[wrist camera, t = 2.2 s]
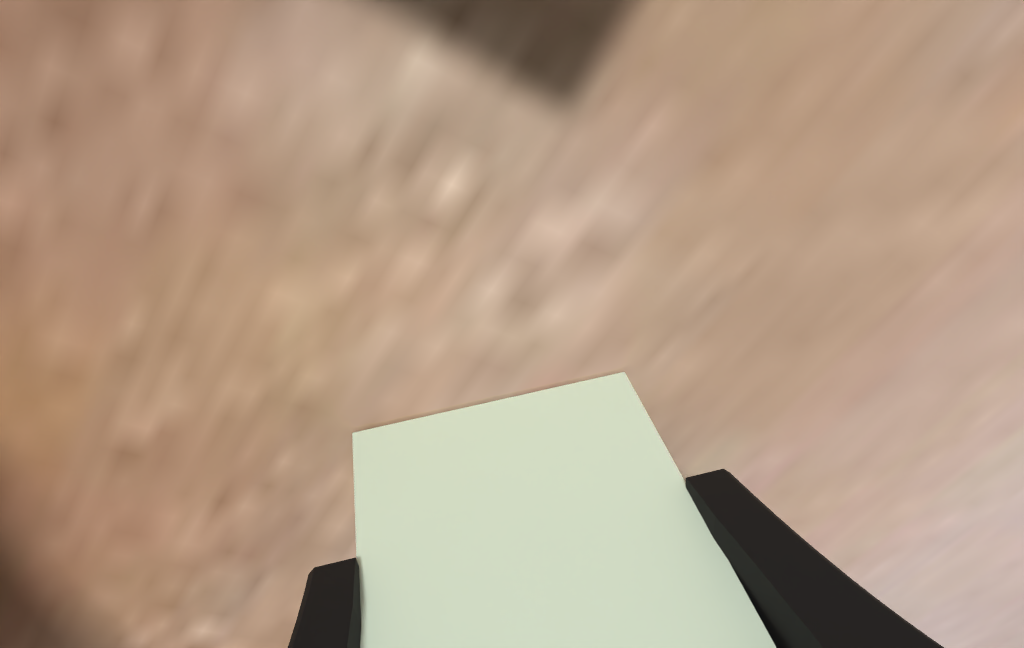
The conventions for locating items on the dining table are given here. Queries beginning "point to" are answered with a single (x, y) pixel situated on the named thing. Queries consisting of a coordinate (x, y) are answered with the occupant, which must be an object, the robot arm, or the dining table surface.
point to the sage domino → (539, 531)
